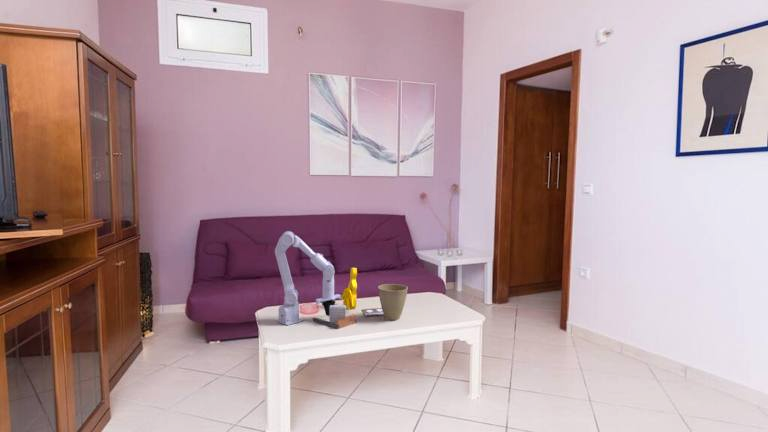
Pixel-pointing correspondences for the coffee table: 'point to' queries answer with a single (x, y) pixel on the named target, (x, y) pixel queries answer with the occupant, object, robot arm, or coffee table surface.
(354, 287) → the figure statuette
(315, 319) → the grey and brown pieces
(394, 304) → the plant pot
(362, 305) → the coffee table surface
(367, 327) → the coffee table surface
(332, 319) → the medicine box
